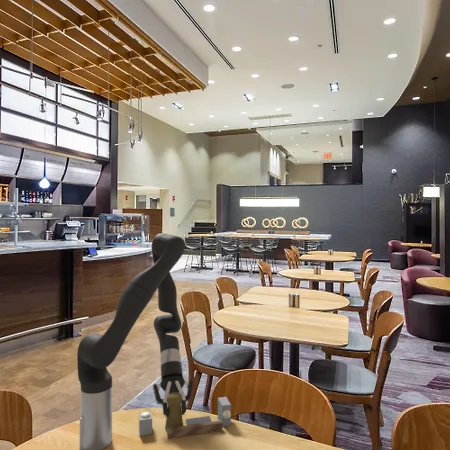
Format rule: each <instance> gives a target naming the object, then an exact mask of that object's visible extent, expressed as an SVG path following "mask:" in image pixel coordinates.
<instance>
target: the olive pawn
mask: <svg viewBox="0 0 450 450" xmlns="http://www.w3.org/2000/svg"><path fill="white" fill-rule="evenodd" d="M181 403H182V395H181V394H180V393H178V392H172V393H170V394H168V396H167V406H168V417H165V425H164V428H165V431H167V428H171V427H179V426H184V421H183V415H182V410H181Z"/></svg>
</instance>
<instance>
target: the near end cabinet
mask: <svg viewBox="0 0 450 450" xmlns="http://www.w3.org/2000/svg"><path fill="white" fill-rule="evenodd" d="M152 415H153V413H152V410H150V411H142V412H138V433H139V434H138V435H139V437H141V436H149V435H153V416H152Z"/></svg>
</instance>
